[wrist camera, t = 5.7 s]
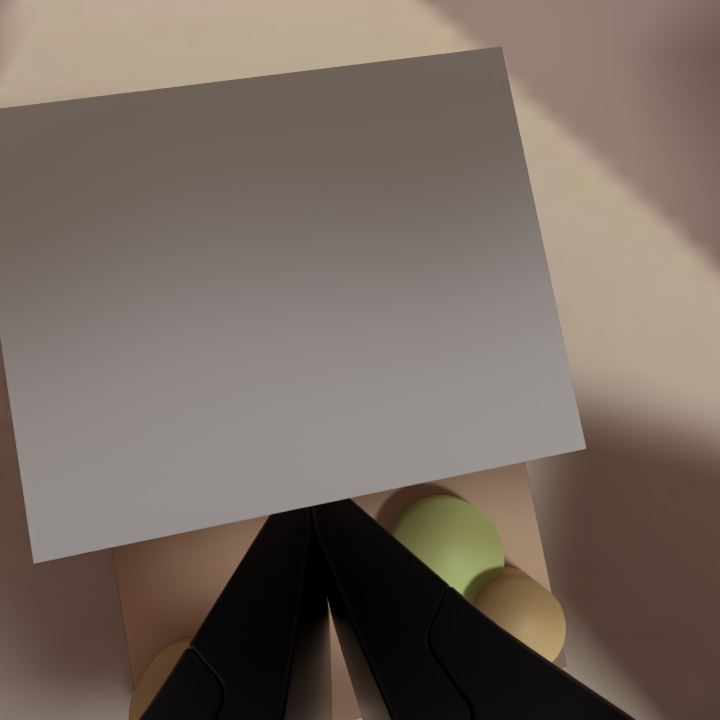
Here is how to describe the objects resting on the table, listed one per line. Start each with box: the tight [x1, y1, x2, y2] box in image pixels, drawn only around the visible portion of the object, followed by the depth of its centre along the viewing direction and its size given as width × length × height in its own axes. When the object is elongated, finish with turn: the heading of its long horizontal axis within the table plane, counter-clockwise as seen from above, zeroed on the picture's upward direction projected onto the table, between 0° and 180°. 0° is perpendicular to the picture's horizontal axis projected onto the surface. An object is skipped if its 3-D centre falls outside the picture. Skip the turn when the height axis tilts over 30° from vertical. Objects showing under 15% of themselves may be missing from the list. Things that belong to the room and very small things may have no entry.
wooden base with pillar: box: [0, 47, 586, 720], centre depth 11 cm, size 13×12×13 cm
